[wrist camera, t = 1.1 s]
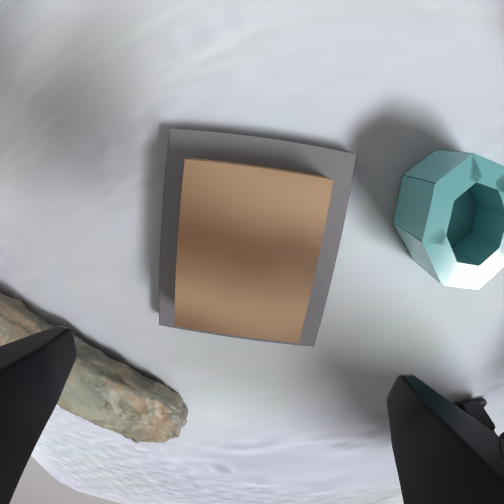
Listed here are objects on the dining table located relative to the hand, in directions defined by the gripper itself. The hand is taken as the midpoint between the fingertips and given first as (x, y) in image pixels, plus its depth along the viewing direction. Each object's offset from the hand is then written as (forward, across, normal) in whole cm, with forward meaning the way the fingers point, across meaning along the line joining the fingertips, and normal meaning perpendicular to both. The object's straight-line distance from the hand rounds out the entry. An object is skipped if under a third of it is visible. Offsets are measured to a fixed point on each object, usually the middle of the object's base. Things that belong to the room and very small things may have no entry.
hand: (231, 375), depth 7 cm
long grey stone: (+12, +20, +12) cm, 26 cm away
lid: (+10, 0, 0) cm, 11 cm away
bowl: (+12, -12, -4) cm, 17 cm away
